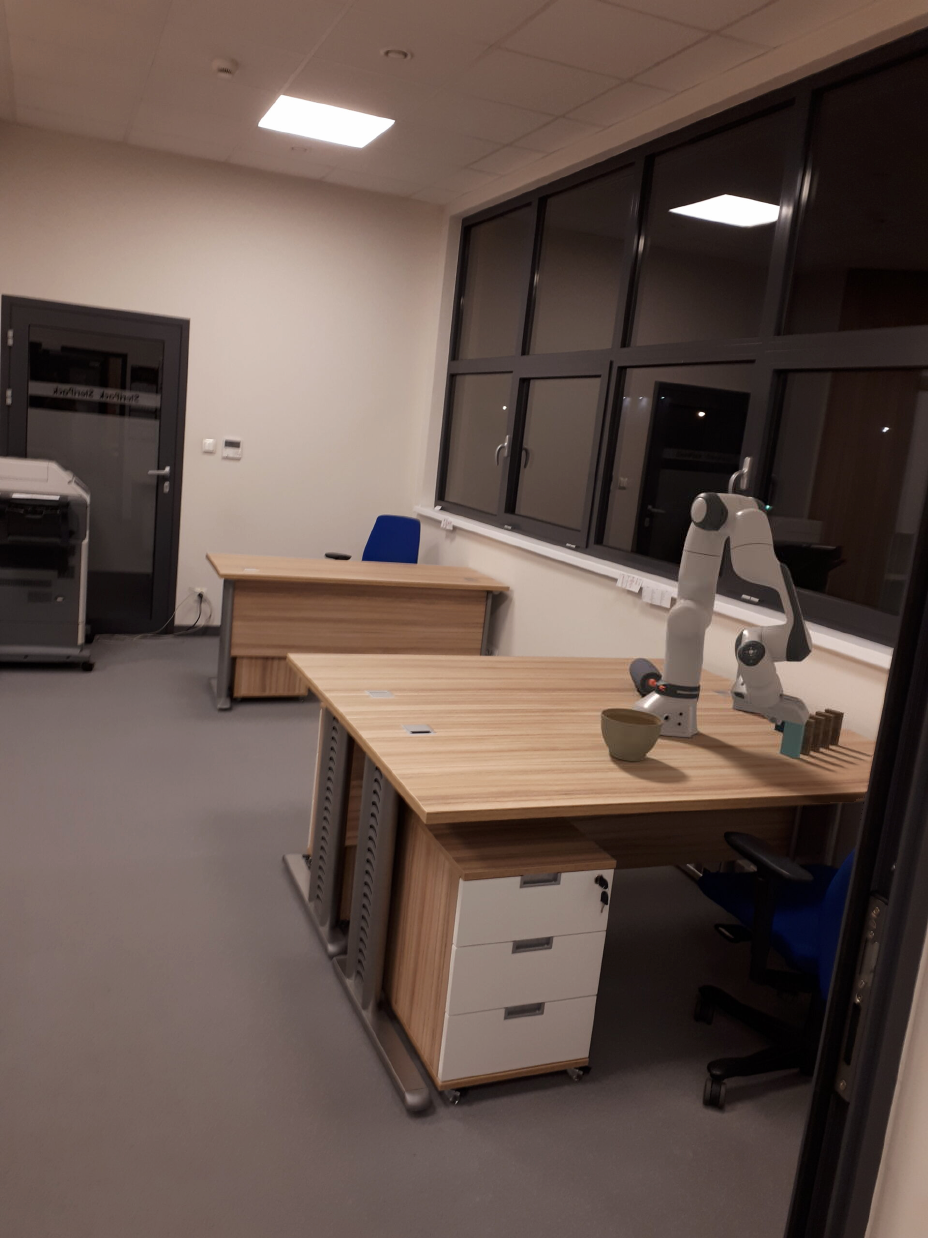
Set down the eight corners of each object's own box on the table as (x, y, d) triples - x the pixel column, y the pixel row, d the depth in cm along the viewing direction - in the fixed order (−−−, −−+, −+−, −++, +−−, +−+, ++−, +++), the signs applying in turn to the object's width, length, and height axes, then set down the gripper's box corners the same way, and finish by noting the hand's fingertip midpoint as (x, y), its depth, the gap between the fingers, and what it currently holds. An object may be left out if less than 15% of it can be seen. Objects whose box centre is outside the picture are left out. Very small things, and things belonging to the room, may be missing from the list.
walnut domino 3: (826, 748, 278) (832, 716, 277) (809, 744, 282) (815, 711, 280) (829, 747, 280) (834, 715, 278) (812, 743, 283) (818, 710, 282)
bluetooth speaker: (663, 701, 316) (668, 672, 314) (635, 698, 316) (640, 668, 314) (651, 685, 338) (655, 658, 337) (625, 682, 338) (629, 655, 337)
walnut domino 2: (816, 752, 274) (822, 718, 272) (800, 747, 277) (805, 714, 276) (819, 751, 275) (825, 717, 274) (803, 746, 279) (808, 713, 277)
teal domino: (796, 758, 265) (802, 724, 263) (779, 753, 268) (785, 719, 266) (799, 757, 266) (805, 723, 264) (782, 752, 269) (788, 718, 268)
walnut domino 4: (835, 745, 283) (841, 713, 281) (819, 741, 287) (825, 709, 285) (838, 744, 285) (844, 712, 283) (822, 740, 288) (827, 708, 286)
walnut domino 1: (806, 755, 269) (812, 721, 268) (790, 750, 273) (795, 716, 271) (809, 754, 271) (815, 720, 269) (793, 749, 274) (799, 715, 272)
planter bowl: (615, 743, 260) (620, 704, 258) (668, 759, 250) (674, 719, 248) (583, 752, 247) (589, 712, 246) (638, 770, 238) (644, 728, 236)
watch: (802, 733, 293) (808, 699, 291) (785, 735, 289) (791, 700, 287) (787, 728, 298) (793, 694, 296) (770, 730, 293) (776, 695, 291)
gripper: (808, 691, 242) (817, 723, 250) (735, 672, 256) (747, 703, 264) (797, 709, 239) (807, 741, 248) (724, 690, 253) (737, 720, 262)
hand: (776, 721), depth 256 cm, fingers closed
